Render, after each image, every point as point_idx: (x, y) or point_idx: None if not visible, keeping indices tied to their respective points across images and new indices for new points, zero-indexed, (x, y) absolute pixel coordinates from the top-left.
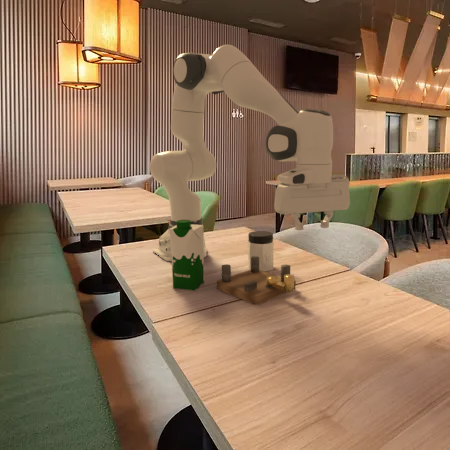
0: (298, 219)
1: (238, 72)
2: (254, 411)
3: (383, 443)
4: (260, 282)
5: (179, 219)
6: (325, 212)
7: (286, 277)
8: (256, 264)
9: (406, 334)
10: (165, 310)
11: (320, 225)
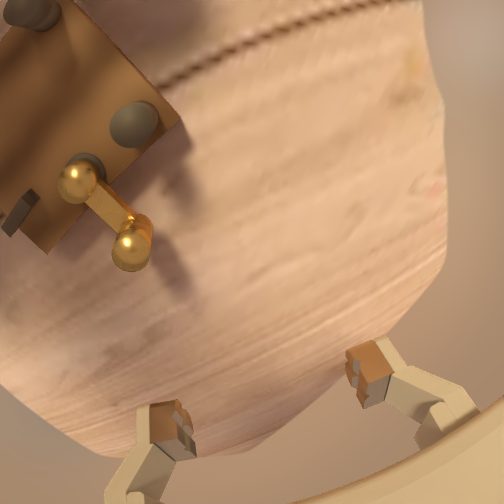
0: (160, 493)
1: None
2: (108, 443)
3: (204, 456)
4: (49, 137)
5: None
6: (429, 426)
7: (120, 267)
8: (33, 26)
9: (332, 346)
10: None
11: (351, 354)
